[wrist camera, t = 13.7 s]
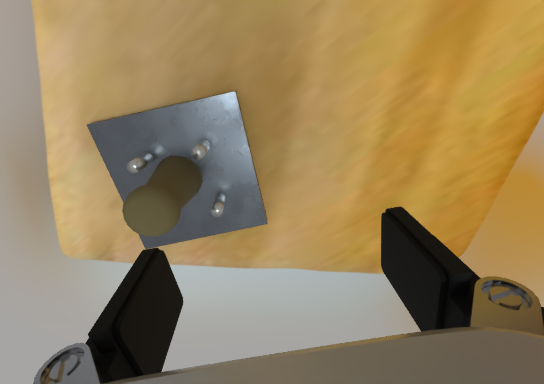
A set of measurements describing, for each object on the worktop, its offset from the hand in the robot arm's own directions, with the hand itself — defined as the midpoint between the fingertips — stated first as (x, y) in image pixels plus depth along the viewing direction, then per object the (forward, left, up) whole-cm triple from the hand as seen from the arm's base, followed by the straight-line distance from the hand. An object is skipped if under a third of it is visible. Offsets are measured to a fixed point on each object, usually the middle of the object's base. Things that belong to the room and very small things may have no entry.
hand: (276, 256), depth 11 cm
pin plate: (+3, -11, -25) cm, 27 cm away
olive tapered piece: (+2, -12, -24) cm, 27 cm away
